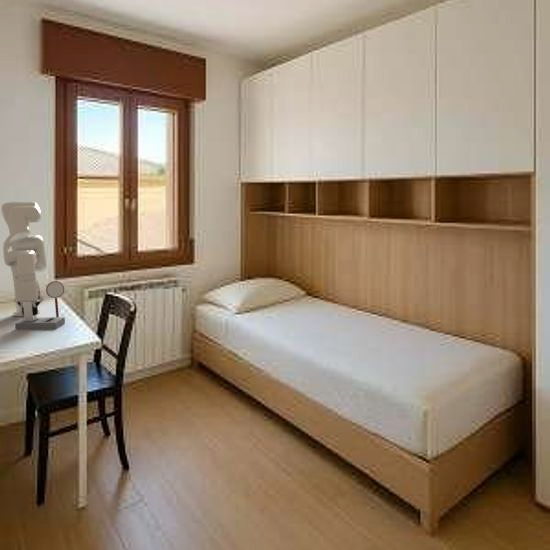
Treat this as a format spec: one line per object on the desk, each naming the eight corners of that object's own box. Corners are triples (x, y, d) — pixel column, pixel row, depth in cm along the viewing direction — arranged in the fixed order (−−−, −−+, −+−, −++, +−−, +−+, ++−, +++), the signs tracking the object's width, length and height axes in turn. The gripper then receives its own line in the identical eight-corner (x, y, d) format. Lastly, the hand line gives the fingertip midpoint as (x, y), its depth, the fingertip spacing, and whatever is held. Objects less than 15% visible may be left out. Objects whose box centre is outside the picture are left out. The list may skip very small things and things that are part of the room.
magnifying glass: (49, 321, 246) (45, 282, 243) (48, 320, 247) (45, 281, 244) (67, 318, 251) (64, 280, 248) (66, 317, 252) (63, 280, 249)
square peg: (28, 319, 237) (26, 299, 235) (36, 319, 237) (35, 299, 236) (24, 321, 233) (22, 301, 231) (33, 321, 233) (31, 300, 232)
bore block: (26, 323, 241) (25, 317, 240) (65, 322, 242) (64, 317, 241) (15, 329, 230) (14, 323, 230) (56, 328, 231) (55, 322, 230)
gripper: (5, 279, 228) (8, 317, 230) (41, 278, 228) (44, 316, 231) (13, 277, 235) (16, 313, 238) (48, 276, 236) (51, 312, 239)
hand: (30, 314), depth 235 cm, fingers closed on square peg, 4 cm apart
